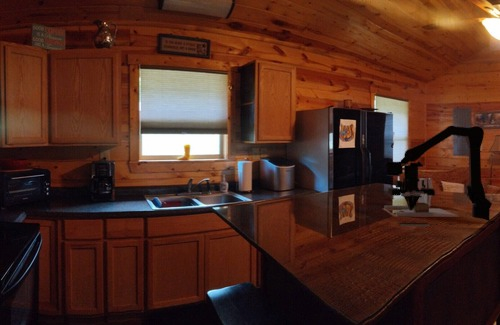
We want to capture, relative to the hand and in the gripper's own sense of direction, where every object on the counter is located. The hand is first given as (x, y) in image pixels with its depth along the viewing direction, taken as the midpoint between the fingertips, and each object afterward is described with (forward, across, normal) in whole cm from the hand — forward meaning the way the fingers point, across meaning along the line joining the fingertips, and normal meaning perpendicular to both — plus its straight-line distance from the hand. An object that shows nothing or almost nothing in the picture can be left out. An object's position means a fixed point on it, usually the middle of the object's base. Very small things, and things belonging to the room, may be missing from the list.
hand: (410, 210), depth 148 cm
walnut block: (+1, -4, 0) cm, 4 cm away
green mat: (+2, +6, +14) cm, 15 cm away
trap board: (+2, -4, 0) cm, 5 cm away
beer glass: (+3, -13, -16) cm, 21 cm away
